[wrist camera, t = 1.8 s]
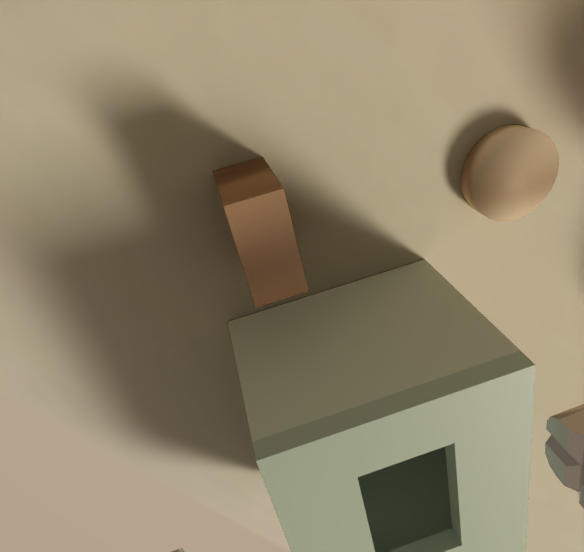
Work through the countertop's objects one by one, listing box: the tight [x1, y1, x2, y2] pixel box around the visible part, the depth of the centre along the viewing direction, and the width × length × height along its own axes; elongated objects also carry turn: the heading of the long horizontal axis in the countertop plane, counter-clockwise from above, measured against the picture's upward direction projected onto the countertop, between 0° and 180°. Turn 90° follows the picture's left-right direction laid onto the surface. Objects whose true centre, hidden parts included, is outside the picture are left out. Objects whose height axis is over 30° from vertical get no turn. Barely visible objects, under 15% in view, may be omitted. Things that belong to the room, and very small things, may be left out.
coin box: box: [228, 259, 535, 552], centre depth 27 cm, size 14×12×10 cm
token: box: [213, 157, 308, 308], centre depth 23 cm, size 5×2×5 cm, turn 13°
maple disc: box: [461, 125, 559, 221], centre depth 27 cm, size 5×5×2 cm
